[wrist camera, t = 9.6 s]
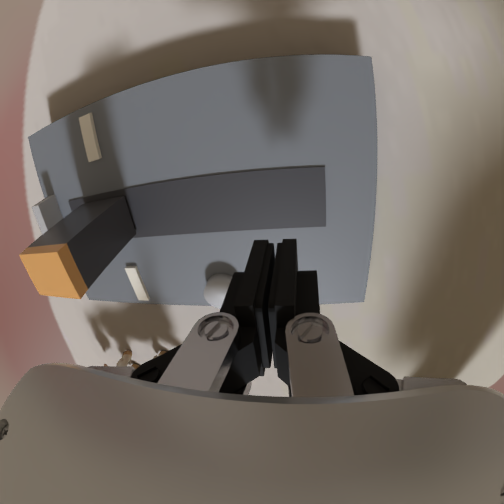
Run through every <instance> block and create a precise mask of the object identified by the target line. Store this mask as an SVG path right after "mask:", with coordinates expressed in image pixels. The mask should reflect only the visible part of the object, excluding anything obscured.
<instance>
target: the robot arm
mask: <svg viewBox="0 0 504 504" xmlns="http://www.w3.org/2000/svg"><path fill="white" fill-rule="evenodd" d="M272 352H273V359H274V368H277V372H278V377H279V378H280V379H281V380H282V381H283V382H285V383H286V384H287V385H288V392H289V397H270V396H252V395H248V394H249V392H250V389H251V384H252V383H251V381H252V380H254V379H255V378H257V377H258V376H264V372H265V368H270V366H271V360H272ZM0 504H504V394H502V393H501V392H499V391H496V390H494V389H491V388H487V387H481V386H474V385H467V384H466V383H465V382H463V381H461V380H458V379H443V378H419V377H404V378H403V380H401V379H395V377H393V376H392V375H391V374H390V373H389V372H387V371H385V370H384V369H382V368H381V367H379V366H378V365H376V364H374V363H373V362H371V361H370V360H368V359H367V358H365V357H363V356H362V355H360V354H359V353H357V352H356V351H354V350H353V349H351V348H350V347H348V346H346V345H345V344H343V343H342V342H340V341H339V340H338V337H337V334H336V330H335V327H334V325H333V323H332V321H331V320H330V319H329V318H327V317H326V316H324V315H322V314H320V307H319V292H318V278H317V270H308V271H298V257H297V239H283V241H282V243H277V249H276V256H275V250H274V243H269V241H268V240H254V242H253V245H252V248H251V252H250V255H249V258H248V261H247V264H246V268H245V271H244V272H234V274H233V276H232V279H231V282H230V284H229V287H228V290H227V293H226V295H225V298H224V301H223V304H222V307H221V309H220V312H216V313H211V314H208V315H205V316H204V317H202V318H201V319H199V320H198V321H197V322H196V323H195V325H194V326H193V328H192V330H191V331H190V333H189V334H188V336H187V337H186V339H185V340H184V342H183V344H181V345H179V346H177V347H176V348H174V349H172V350H170V351H168V352H166V353H164V354H162V355H160V356H158V357H156V358H154V359H152V360H150V361H148V362H146V363H144V364H142V365H140V366H139V367H137V368H136V369H134V368H133V366H126V367H109V366H90V367H84V366H80V365H74V364H67V363H50V364H42V365H38V366H35V367H33V368H31V369H30V370H29V371H28V372H27V373H26V374H25V375H24V376H23V377H22V378H21V380H20V381H19V382H18V383H17V385H16V386H15V388H14V389H13V390H12V392H11V393H10V395H9V397H8V398H7V400H6V401H5V403H4V405H3V407H2V408H1V410H0Z"/></svg>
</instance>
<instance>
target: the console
mask: <svg viewBox="0 0 504 504" xmlns="http://www.w3.org/2000/svg"><path fill="white" fill-rule="evenodd" d="M28 139H29V143H30V148H31V152H32V156H33V160H34V164H35V167H36V171H37V175H38V178H39V181H40V185H41V188H42V191H43V194H44V197H45V199H43V200H42V201H40V202H39V203H37V204H36V205H34V206H33V207H32V209H33V212H34V215H35V217H36V220H37V223H38V225H39V228H40V230H41V233H42V235H43V234H44V233H45V232H46V231H48V230H49V229H50V228H51V227H53V226H54V225H55V224H56V223H58V222H59V221H60V220H62V219H63V218H64V217H66V216H67V215H68V214H70V213H71V212H72V211H74V210H75V209H76V208H78V207H79V206H81V205H82V204H85V203H89V202H94V201H99V200H104V199H109V198H115V197H120V196H125V199H126V203H127V206H128V209H129V213H130V216H131V219H132V222H133V225H134V228H135V231H136V235H135V236H134V237H133V238H132V239H131V240H130V241H129V242H128V243H127V245H126V246H125V247H124V248H123V249H122V250H121V251H120V252H119V253H118V255H117V256H116V257H115V258H114V259H113V260H112V261H111V263H110V264H109V265H108V266H107V267H106V268H105V270H104V271H103V272H102V273H101V274H100V276H99V277H98V278H97V279H96V280H95V282H94V283H93V284H92V285H91V287H90V288H89V289H88V290H87V292H86V295H87V296H88V298H89V300H100V301H113V302H128V303H146V304H168V305H202V306H213V307H215V308H219V309H221V307H222V304H223V301H224V298H225V295H226V293H227V290H228V287H229V284H230V282H231V279H232V276H233V274H234V272H244V271H245V268H246V264H247V261H248V258H249V255H250V252H251V248H252V245H253V242H254V240H268V241H269V243H274V250H275V256H276V249H277V243H282V241H283V239H297V257H298V271H308V270H317V278H318V292H319V304H336V303H354V302H364V299H365V293H366V287H367V280H368V273H369V266H370V258H371V250H372V241H373V231H374V219H375V205H376V186H377V118H376V99H375V86H374V75H373V66H372V58H371V57H370V56H356V55H292V56H277V57H266V58H257V59H249V60H242V61H235V62H229V63H223V64H218V65H213V66H208V67H203V68H198V69H194V70H190V71H186V72H182V73H178V74H174V75H170V76H167V77H163V78H160V79H157V80H153V81H150V82H147V83H144V84H141V85H138V86H135V87H132V88H129V89H127V90H124V91H121V92H119V93H116V94H113V95H111V96H108V97H106V98H104V99H101V100H99V101H97V102H94V103H92V104H90V105H87V106H85V107H83V108H81V109H79V110H77V111H75V112H73V113H71V114H69V115H67V116H65V117H63V118H61V119H59V120H57V121H55V122H53V123H52V124H50V125H48V126H46V127H44V128H43V129H41V130H39V131H38V132H36V133H34V134H33V135H31V136H29V137H28Z"/></svg>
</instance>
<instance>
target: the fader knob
mask: <svg viewBox="0 0 504 504" xmlns="http://www.w3.org/2000/svg"><path fill="white" fill-rule="evenodd" d="M135 235H136V231H135V228H134V225H133V222H132V219H131V216H130V213H129V209H128V206H127V203H126V199H125V196H120V197H115V198H109V199H104V200H99V201H94V202H89V203H85V204H82V205H81V206H79V207H78V208H76V209H75V210H74V211H72V212H71V213H70V214H68V215H67V216H66V217H64V218H63V219H62V220H60V221H59V222H58V223H56V224H55V225H54V226H53V227H51V228H50V229H49V230H48V231H46V232H45V233H44V234H43V235H42V236H40V237H39V238H38V239H37V240H36V241H34V242H33V243H32V244H31V245H30V246H29V247H28V248H26V249H25V250H24V251H23V252H22V253H21V254H20V255H19V256H20V258H21V260H22V262H23V264H24V266H25V268H26V270H27V272H28V273H29V276H30V278H31V279H32V281H33V283H34V285H35V287H36V289H37V290H38V292H39V294H40V295H47V296H55V297H65V298H75V299H81V298H82V297H83V295H84V294H85V293H86V292H87V290H88V289H89V288H90V287H91V285H92V284H93V283H94V282H95V280H96V279H97V278H98V277H99V276H100V274H101V273H102V272H103V271H104V270H105V268H106V267H107V266H108V265H109V264H110V263H111V261H112V260H113V259H114V258H115V257H116V256H117V255H118V253H119V252H120V251H121V250H122V249H123V248H124V247H125V246H126V245H127V243H128V242H129V241H130V240H131V239H132V238H133V237H134V236H135Z"/></svg>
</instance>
